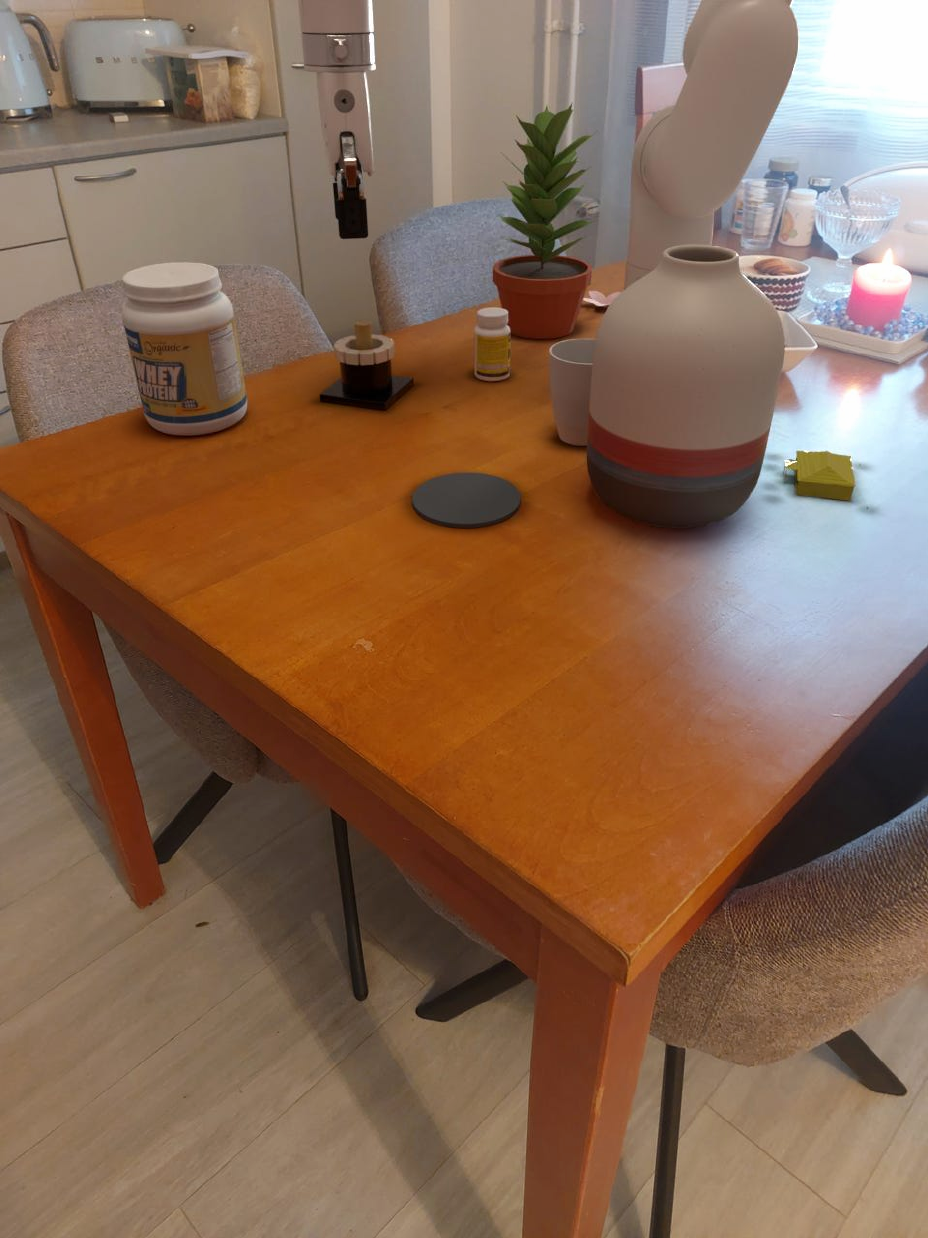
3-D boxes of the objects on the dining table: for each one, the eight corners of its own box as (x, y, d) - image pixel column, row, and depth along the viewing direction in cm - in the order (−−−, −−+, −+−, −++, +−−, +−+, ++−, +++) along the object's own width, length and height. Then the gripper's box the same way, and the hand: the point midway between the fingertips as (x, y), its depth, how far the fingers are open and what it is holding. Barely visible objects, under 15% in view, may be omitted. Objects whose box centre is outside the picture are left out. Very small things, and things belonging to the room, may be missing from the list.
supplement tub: (125, 432, 105) (88, 284, 95) (182, 394, 114) (154, 256, 104) (216, 444, 102) (188, 293, 92) (267, 404, 111) (246, 263, 101)
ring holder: (414, 385, 116) (410, 315, 111) (385, 410, 109) (380, 337, 104) (351, 377, 119) (345, 308, 114) (320, 401, 112) (312, 329, 107)
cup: (622, 427, 105) (630, 342, 99) (608, 455, 98) (616, 367, 93) (555, 418, 107) (559, 335, 101) (537, 446, 101) (541, 359, 95)
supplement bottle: (515, 379, 117) (516, 314, 112) (481, 384, 116) (481, 319, 111) (502, 367, 121) (502, 304, 116) (469, 371, 120) (468, 308, 115)
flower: (625, 318, 138) (626, 308, 137) (564, 310, 141) (564, 300, 140) (643, 301, 145) (644, 291, 144) (584, 294, 148) (585, 284, 148)
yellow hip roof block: (867, 509, 88) (875, 483, 86) (771, 498, 90) (776, 472, 88) (860, 466, 96) (866, 441, 94) (771, 456, 98) (776, 432, 96)
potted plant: (521, 307, 143) (527, 90, 126) (605, 323, 136) (624, 96, 118) (467, 331, 133) (466, 100, 116) (555, 351, 126) (567, 108, 109)
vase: (787, 526, 85) (847, 269, 72) (625, 554, 82) (655, 288, 68) (700, 453, 99) (737, 224, 85) (557, 474, 95) (571, 238, 81)
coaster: (534, 485, 93) (534, 481, 93) (500, 536, 84) (500, 531, 84) (436, 470, 96) (436, 465, 96) (394, 517, 88) (394, 512, 87)
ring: (404, 348, 113) (403, 337, 112) (379, 368, 107) (378, 356, 106) (351, 342, 115) (350, 331, 114) (324, 361, 109) (323, 349, 109)
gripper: (381, 59, 87) (390, 244, 97) (368, 47, 101) (377, 211, 111) (304, 60, 86) (321, 247, 96) (301, 48, 100) (316, 213, 110)
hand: (351, 227), depth 103 cm, fingers open, 9 cm apart
